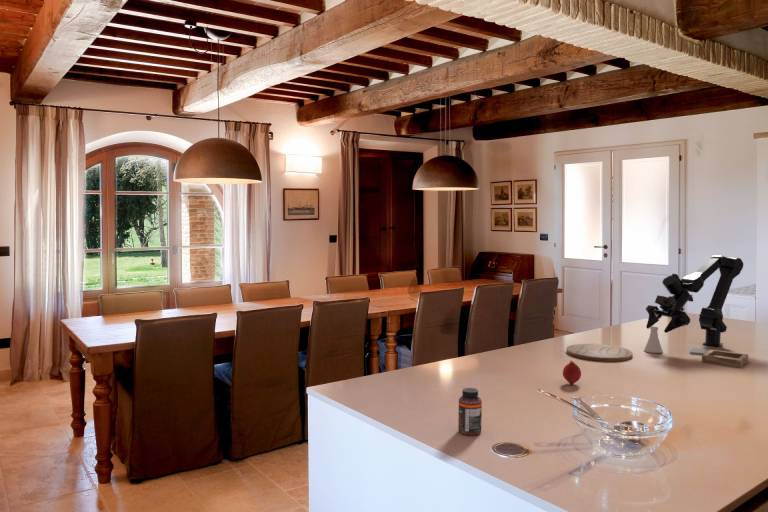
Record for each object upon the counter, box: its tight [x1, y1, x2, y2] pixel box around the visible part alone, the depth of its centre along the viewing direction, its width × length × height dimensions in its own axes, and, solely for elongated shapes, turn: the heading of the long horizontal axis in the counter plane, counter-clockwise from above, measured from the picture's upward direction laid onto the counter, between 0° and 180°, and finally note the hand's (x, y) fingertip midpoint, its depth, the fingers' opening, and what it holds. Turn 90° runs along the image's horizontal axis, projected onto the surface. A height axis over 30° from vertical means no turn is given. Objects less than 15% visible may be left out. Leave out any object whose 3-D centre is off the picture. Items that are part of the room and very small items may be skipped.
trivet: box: [566, 343, 634, 363], centre depth 250 cm, size 25×25×2 cm
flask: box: [643, 326, 663, 354], centre depth 255 cm, size 7×7×10 cm
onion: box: [562, 359, 582, 385], centre depth 207 cm, size 6×6×8 cm
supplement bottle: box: [457, 387, 483, 437], centre depth 163 cm, size 6×6×11 cm
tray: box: [701, 349, 749, 368], centre depth 239 cm, size 13×13×2 cm
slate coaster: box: [689, 347, 712, 356], centre depth 253 cm, size 9×9×1 cm
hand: (655, 330), depth 255 cm, fingers open, 9 cm apart
